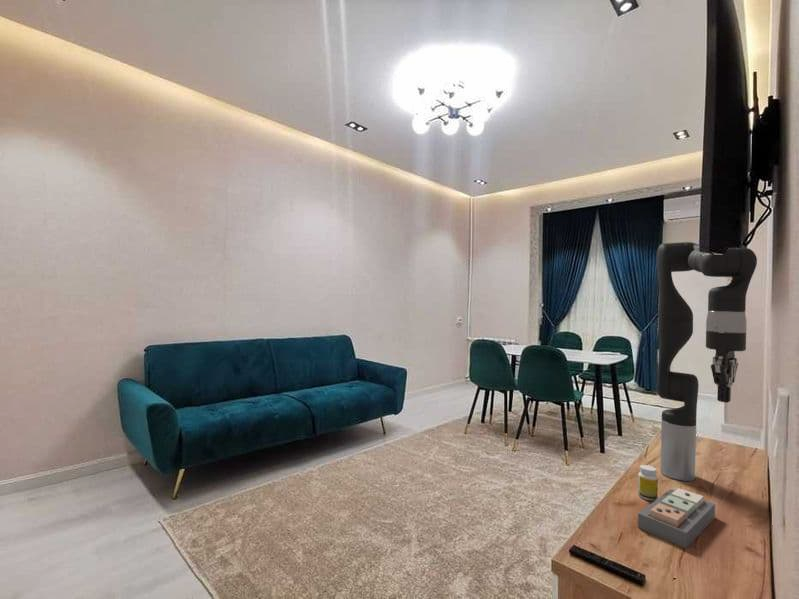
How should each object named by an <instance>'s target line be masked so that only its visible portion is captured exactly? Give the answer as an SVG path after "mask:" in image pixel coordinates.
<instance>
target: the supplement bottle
mask: <svg viewBox="0 0 799 599" xmlns="http://www.w3.org/2000/svg"><path fill="white" fill-rule="evenodd" d="M657 472H658V471H657V468H655V467H654V466H651V465H648V464H641V465H640V466H639V472H638V474H637V476H638V479H637V496H638V497H640V498H641V499H643V500H646V501H652V502H654V501H655V500H657V499H658V491H659V490H658V486H659V485H658V483H659V481H658V480H659V478H658V476H657Z"/></svg>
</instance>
